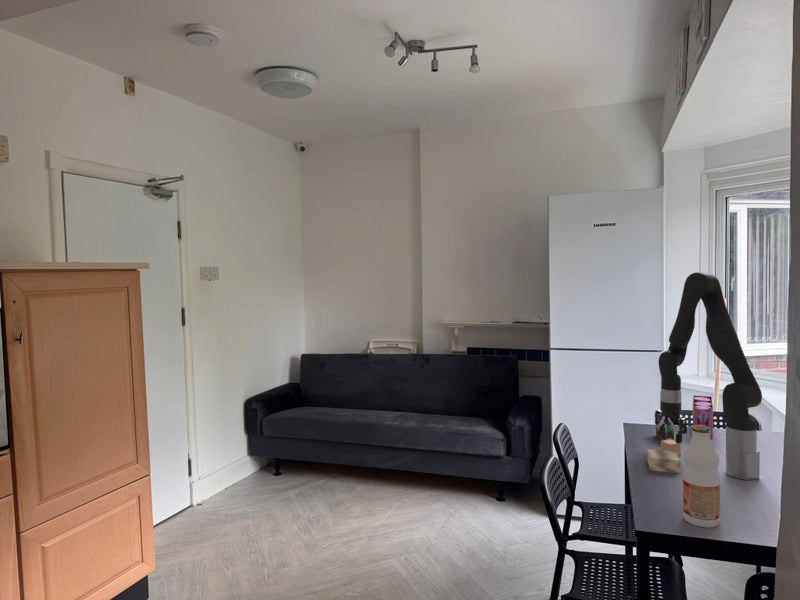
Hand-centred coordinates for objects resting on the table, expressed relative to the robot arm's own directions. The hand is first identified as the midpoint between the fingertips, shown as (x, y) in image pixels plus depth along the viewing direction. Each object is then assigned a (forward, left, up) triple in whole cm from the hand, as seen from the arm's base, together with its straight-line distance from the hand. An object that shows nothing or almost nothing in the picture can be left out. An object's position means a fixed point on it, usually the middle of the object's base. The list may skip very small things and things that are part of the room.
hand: (670, 439), depth 211 cm
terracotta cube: (-1, 0, -6) cm, 6 cm away
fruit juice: (-49, +35, -6) cm, 60 cm away
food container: (+15, -14, -6) cm, 21 cm away
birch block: (-11, +13, -6) cm, 18 cm away
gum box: (+19, -36, -6) cm, 41 cm away
